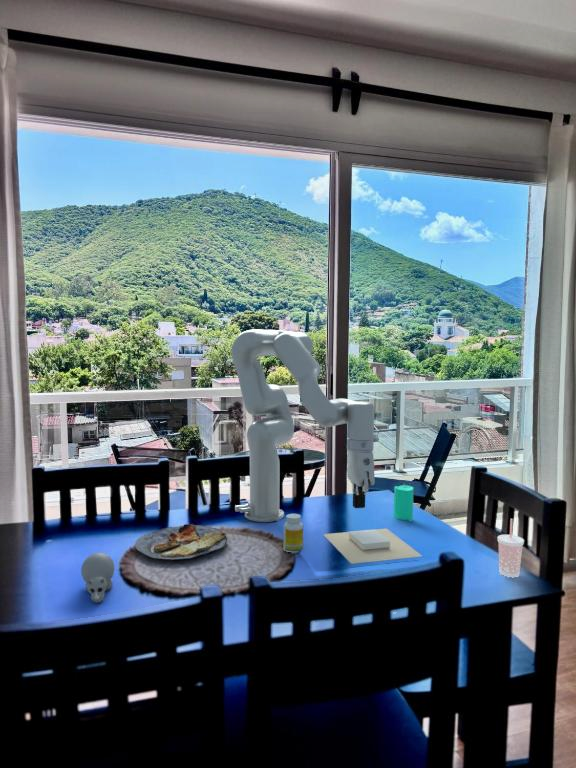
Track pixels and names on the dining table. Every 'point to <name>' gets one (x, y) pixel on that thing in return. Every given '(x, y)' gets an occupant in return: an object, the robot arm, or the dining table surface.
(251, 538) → the dining table surface
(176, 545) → the food plate
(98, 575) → the round bodied animal figurine
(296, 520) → the supplement bottle
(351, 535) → the tile
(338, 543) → the cork mat
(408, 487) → the candle
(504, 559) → the beverage cup
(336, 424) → the robot arm
